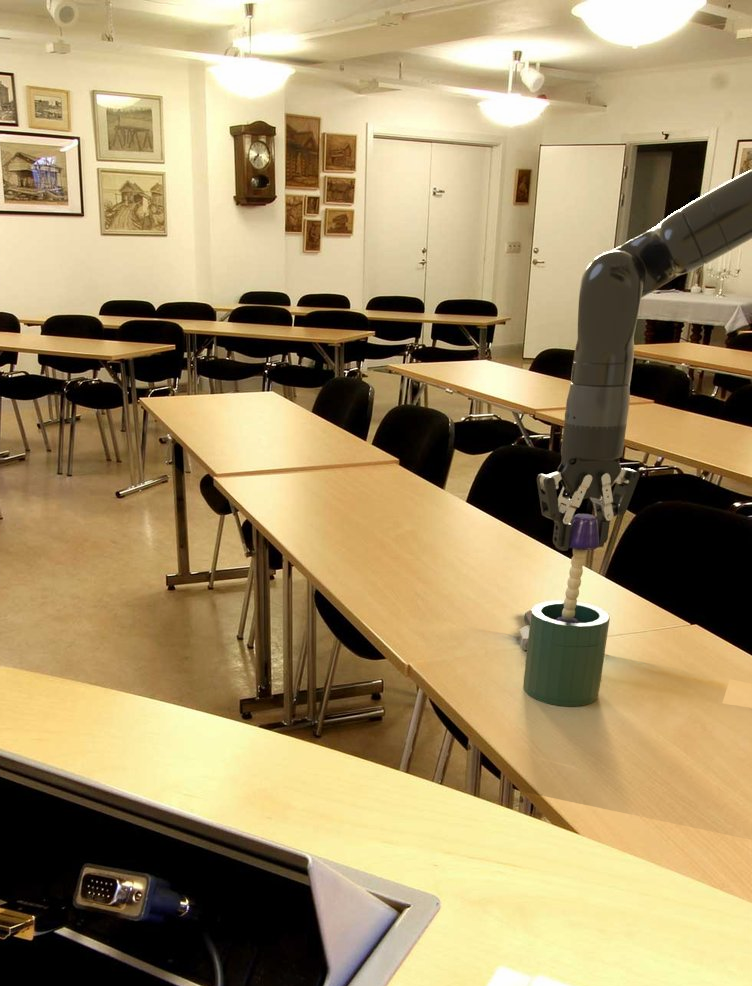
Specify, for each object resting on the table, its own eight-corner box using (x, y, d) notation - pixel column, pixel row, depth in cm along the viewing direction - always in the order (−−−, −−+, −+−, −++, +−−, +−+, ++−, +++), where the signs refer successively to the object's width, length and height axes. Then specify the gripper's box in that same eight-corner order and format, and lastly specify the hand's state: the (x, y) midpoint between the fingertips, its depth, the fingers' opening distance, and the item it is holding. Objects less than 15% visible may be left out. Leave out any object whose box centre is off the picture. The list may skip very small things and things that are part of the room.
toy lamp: (587, 627, 129) (604, 513, 122) (584, 639, 125) (601, 522, 118) (552, 623, 130) (566, 509, 124) (548, 634, 127) (563, 518, 120)
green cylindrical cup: (605, 685, 132) (616, 608, 128) (588, 712, 125) (600, 631, 120) (534, 671, 138) (543, 596, 133) (514, 696, 130) (522, 617, 125)
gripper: (560, 427, 112) (545, 560, 118) (663, 420, 114) (643, 550, 121) (529, 418, 119) (516, 544, 125) (627, 412, 121) (610, 536, 128)
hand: (579, 547), depth 123 cm, fingers closed on toy lamp, 4 cm apart
